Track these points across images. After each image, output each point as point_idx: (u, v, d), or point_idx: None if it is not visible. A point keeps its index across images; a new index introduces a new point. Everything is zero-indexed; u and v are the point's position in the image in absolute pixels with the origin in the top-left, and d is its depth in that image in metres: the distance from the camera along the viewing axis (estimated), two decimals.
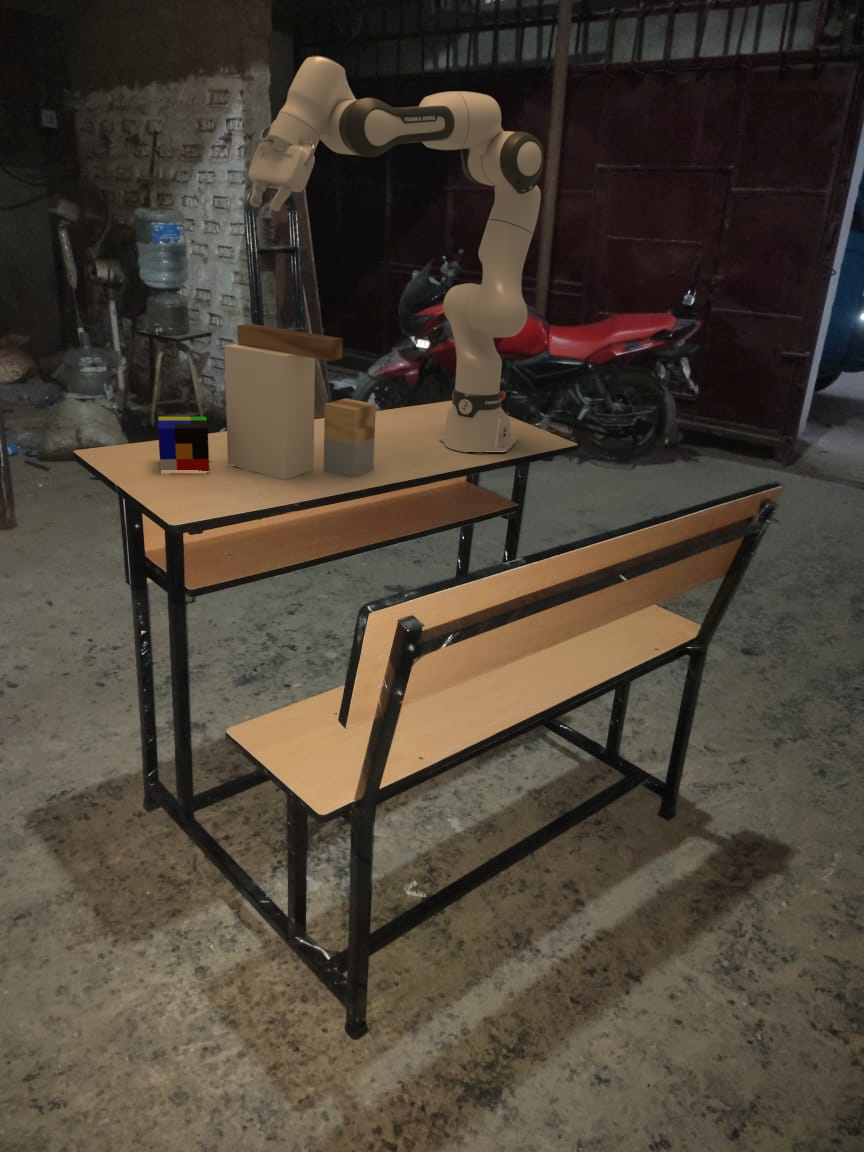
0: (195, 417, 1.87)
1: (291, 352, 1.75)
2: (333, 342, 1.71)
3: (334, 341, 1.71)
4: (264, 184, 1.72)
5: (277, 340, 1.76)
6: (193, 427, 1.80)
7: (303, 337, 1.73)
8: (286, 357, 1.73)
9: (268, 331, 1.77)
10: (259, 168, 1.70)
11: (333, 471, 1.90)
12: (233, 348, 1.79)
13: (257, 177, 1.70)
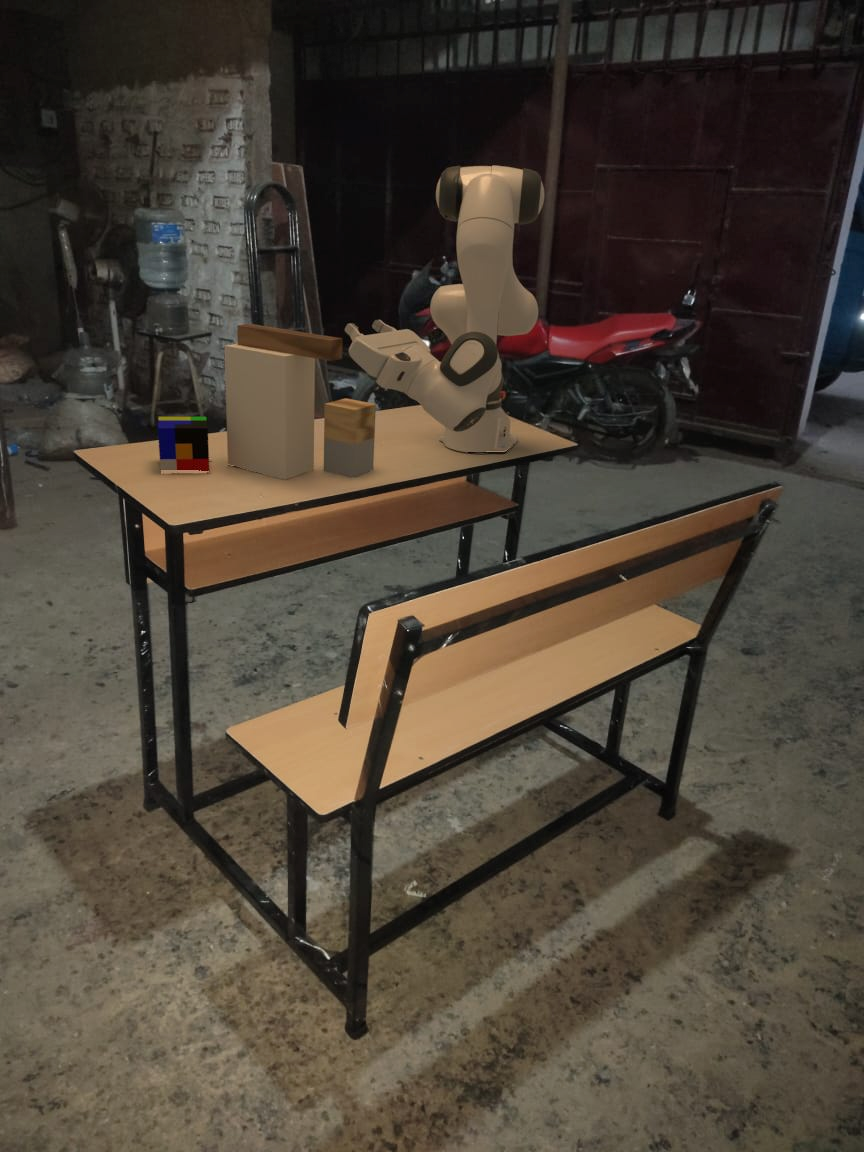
0: (195, 417, 1.87)
1: (291, 352, 1.75)
2: (333, 342, 1.71)
3: (334, 341, 1.71)
4: None
5: (277, 340, 1.76)
6: (193, 427, 1.80)
7: (303, 337, 1.73)
8: (286, 357, 1.73)
9: (268, 331, 1.77)
10: None
11: (333, 471, 1.90)
12: (233, 348, 1.79)
13: None
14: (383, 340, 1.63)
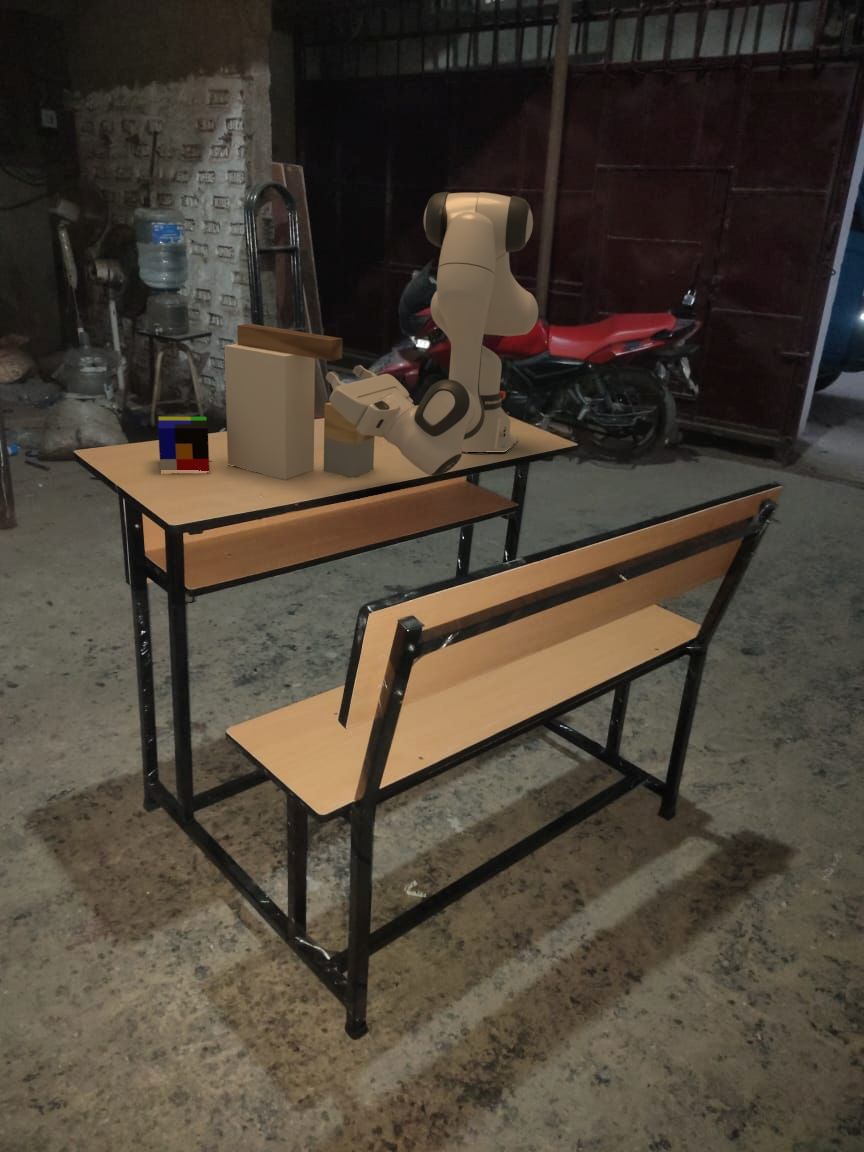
0: (195, 417, 1.87)
1: (291, 352, 1.75)
2: (333, 342, 1.71)
3: (334, 341, 1.71)
4: None
5: (277, 340, 1.76)
6: (193, 427, 1.80)
7: (303, 337, 1.73)
8: (286, 357, 1.73)
9: (268, 331, 1.77)
10: None
11: (333, 471, 1.90)
12: (233, 348, 1.79)
13: None
14: (363, 388, 1.69)
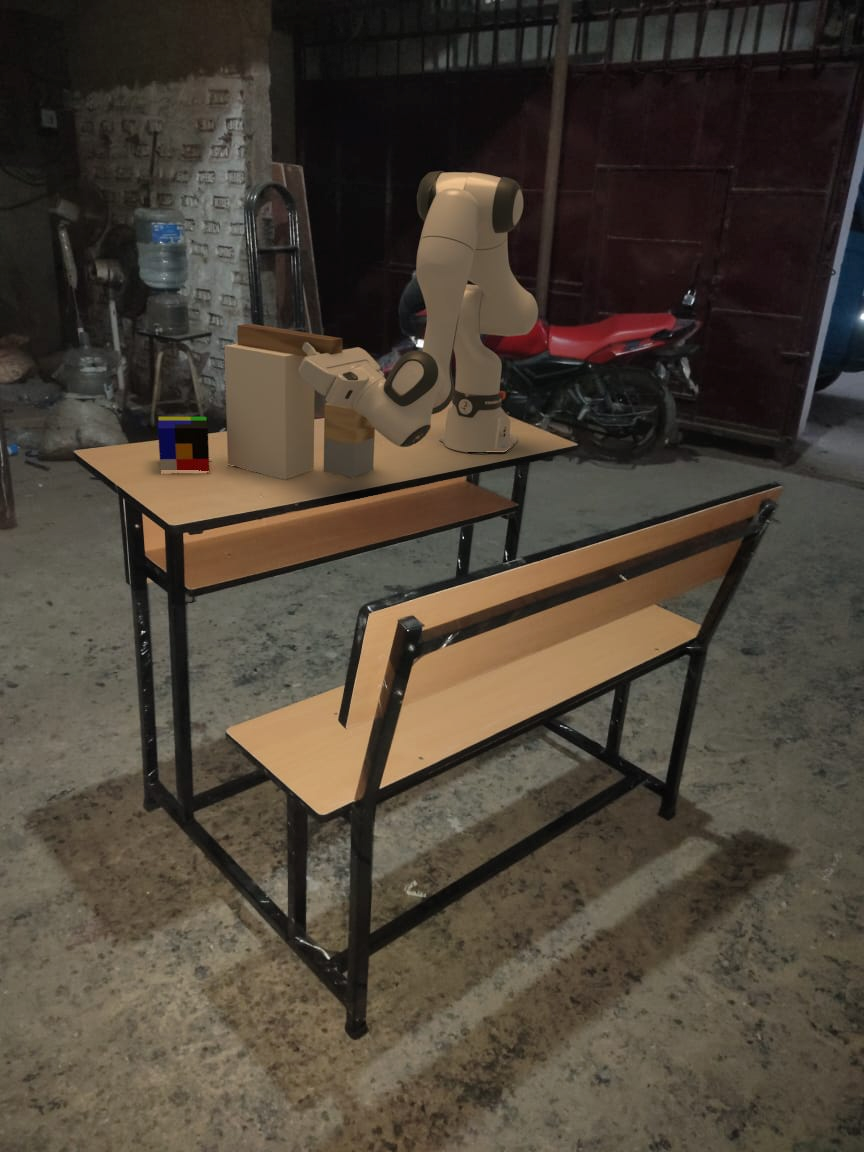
0: (195, 417, 1.87)
1: (291, 352, 1.75)
2: (333, 342, 1.71)
3: (334, 341, 1.71)
4: None
5: (277, 340, 1.76)
6: (193, 427, 1.80)
7: (303, 337, 1.73)
8: (286, 357, 1.73)
9: (268, 331, 1.77)
10: None
11: (333, 471, 1.90)
12: (233, 348, 1.79)
13: None
14: (333, 359, 1.70)
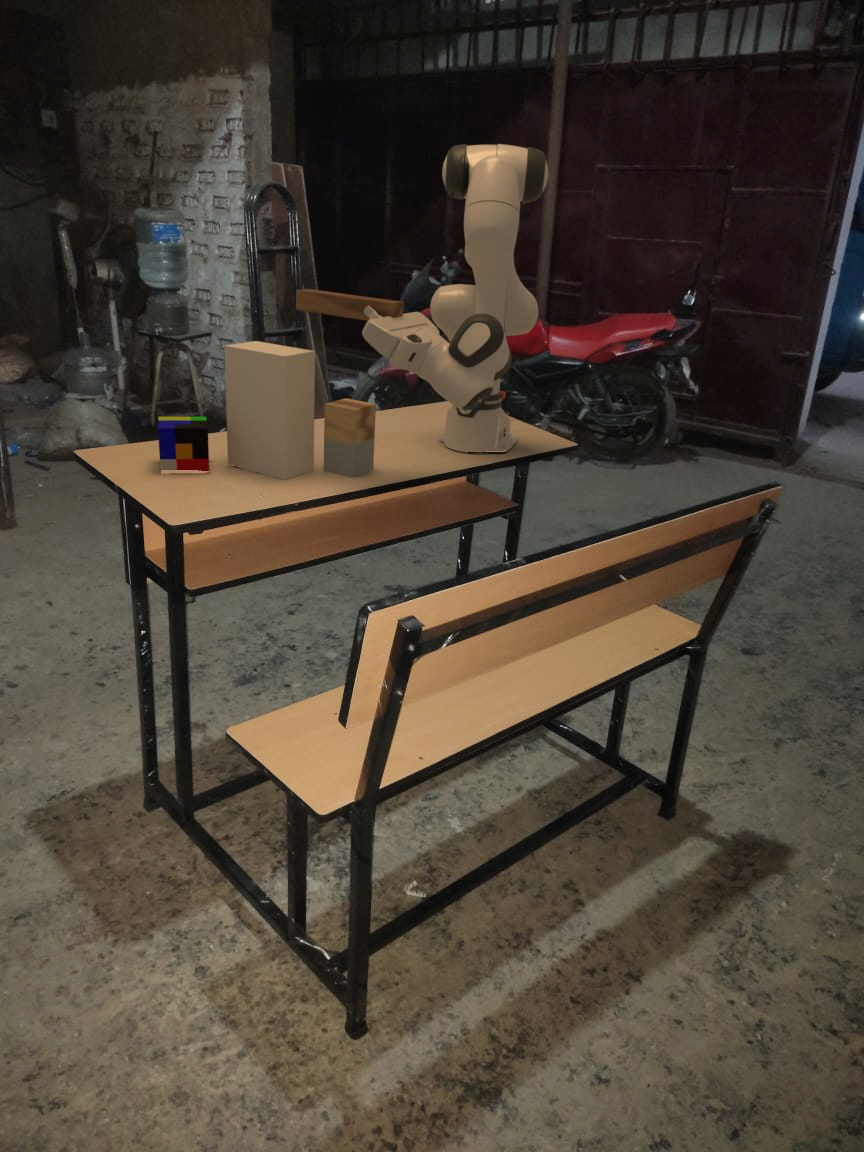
0: (195, 417, 1.87)
1: (351, 316, 1.76)
2: (395, 305, 1.71)
3: (396, 304, 1.71)
4: None
5: (337, 304, 1.76)
6: (193, 427, 1.80)
7: (364, 301, 1.73)
8: (286, 357, 1.73)
9: (328, 295, 1.77)
10: None
11: (333, 471, 1.90)
12: (233, 348, 1.79)
13: None
14: (395, 322, 1.70)
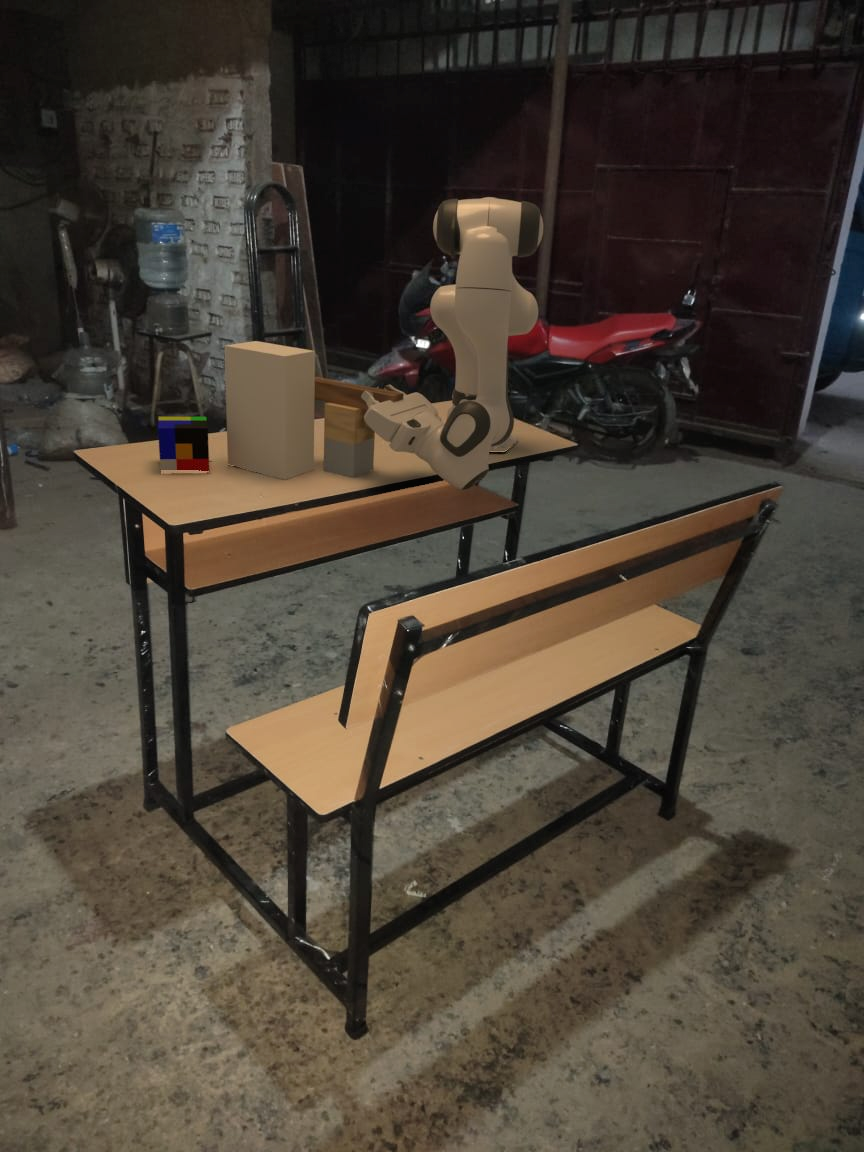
0: (195, 417, 1.87)
1: (354, 405, 1.84)
2: (395, 397, 1.79)
3: (396, 396, 1.79)
4: None
5: (340, 394, 1.85)
6: (193, 427, 1.80)
7: None
8: (286, 357, 1.73)
9: (332, 385, 1.85)
10: None
11: (333, 471, 1.90)
12: (233, 348, 1.79)
13: None
14: (395, 406, 1.78)
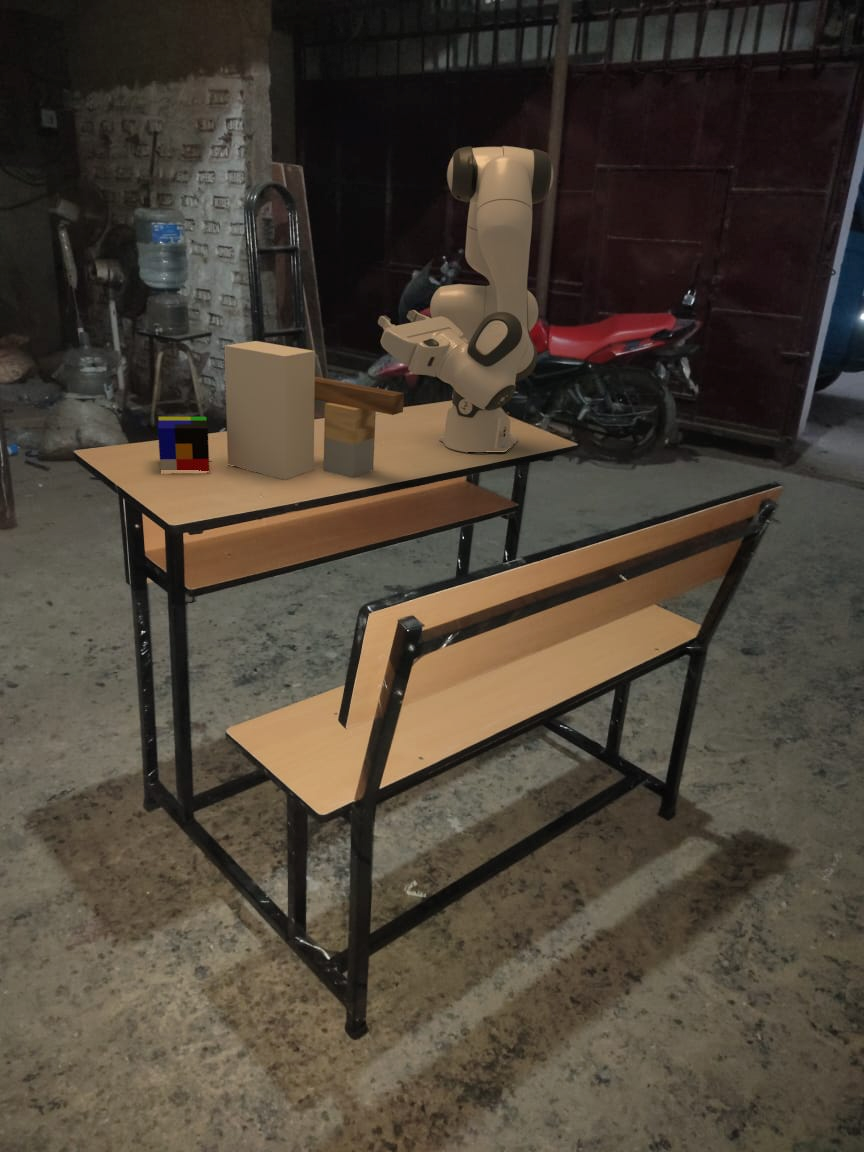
0: (195, 417, 1.87)
1: (354, 405, 1.84)
2: (396, 397, 1.79)
3: (397, 396, 1.80)
4: None
5: (340, 394, 1.85)
6: (193, 427, 1.80)
7: (366, 392, 1.81)
8: (286, 357, 1.73)
9: (332, 385, 1.85)
10: None
11: (333, 471, 1.90)
12: (233, 348, 1.79)
13: None
14: (414, 329, 1.70)
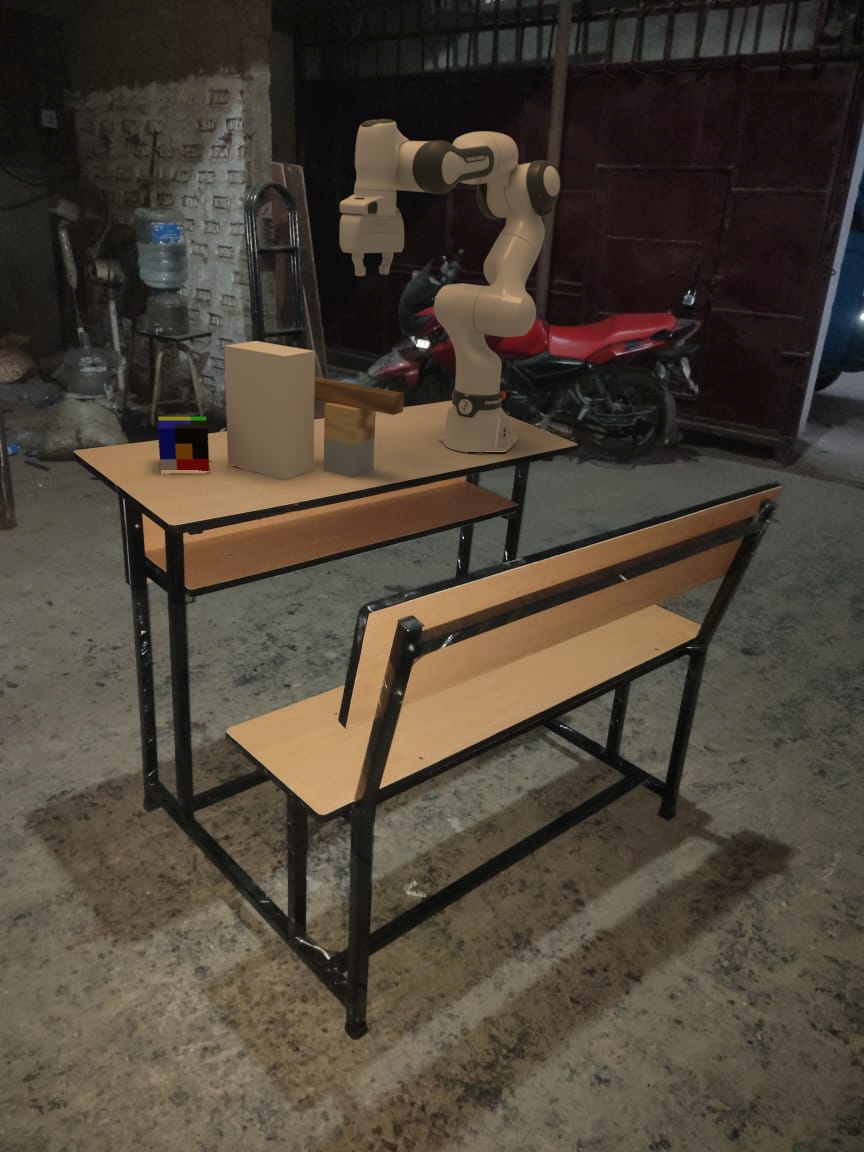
0: (195, 417, 1.87)
1: (354, 405, 1.84)
2: (396, 397, 1.79)
3: (397, 396, 1.80)
4: None
5: (340, 394, 1.85)
6: (193, 427, 1.80)
7: (366, 392, 1.81)
8: (286, 357, 1.73)
9: (332, 385, 1.85)
10: (367, 243, 1.78)
11: (333, 471, 1.90)
12: (233, 348, 1.79)
13: (368, 251, 1.79)
14: None
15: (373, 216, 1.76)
